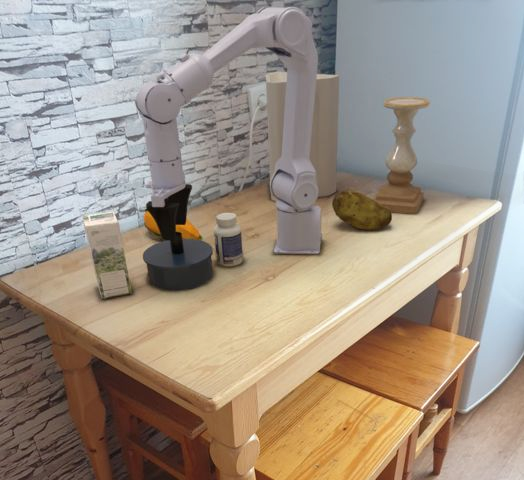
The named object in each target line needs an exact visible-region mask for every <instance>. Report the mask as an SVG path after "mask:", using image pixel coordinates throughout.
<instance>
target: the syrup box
mask: <svg viewBox="0 0 524 480" xmlns="http://www.w3.org/2000/svg"><path fill="white" fill-rule="evenodd" d="M82 222H83V227H84V232H85V234H86V235H85V237H86V240H87V244H88V248H89V252H90V258H91V262H92V266H93V270H94V275H95V280H96V284H97V288H98V291H99V294H100V297H101V300H105V299H111V298H115V297H120V296H121V297H122V296H126V295H131V294H132V293H133V291H132V286H131V281H130V276H129V275H130V274H129V270H128V265H127V260H126V254H125V250H124V249H125V247H124V243H123V238H122V233H121V227H120V222H119V220H118V218H117V216H116V214H115V211H113V210H112V211H108V212H101V213H95V214H89V215H83V216H82Z"/></svg>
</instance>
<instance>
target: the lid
mask: <svg viewBox="0 0 524 480" xmlns="http://www.w3.org/2000/svg"><path fill="white" fill-rule="evenodd" d="M213 253H214V249H213V246H212V245H211V244H210V243H209V242H207V241H205V240H203V239H202V240H197V239H182V233H181V232H176V236H175V240H167V241H165V240H163V241H160V242H158V243H155V244H152V245H151V246H149V247H147V248H146V249H145V250H144V252H143V253H142V261H143V262H144V263H145V264H146V266H147V265H149V266H152V267H155V268H160V269H181V268H187V267H192V266H195V265H198V264H200V263H203V262H204V261H206V260H208V259H209V258H210V257H211V258H212V256H213Z"/></svg>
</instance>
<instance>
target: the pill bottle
mask: <svg viewBox="0 0 524 480" xmlns="http://www.w3.org/2000/svg"><path fill="white" fill-rule="evenodd" d="M215 223H216V225H215V227H214V228H213V235H214V246H215V247H214V248H215V257H216V262H217V264H218V265H220V266H222V267H229V268H230V267H236V266H239V265H240V264H242V263H243V262H244V254H243V253H244V252H243V241H242V228H241V226H240V225H239V224H238V219H237V214H235V213H233V212H221V213H218V214H217V215H216V216H215Z"/></svg>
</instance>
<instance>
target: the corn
mask: <svg viewBox="0 0 524 480" xmlns="http://www.w3.org/2000/svg"><path fill="white" fill-rule="evenodd" d="M144 212H145V213H144V214H143V221H144V227H145V228H146V229H147V231H149V232H150V233H151V234H153V235H154V236H155V237H157V238H159V239H161V240H163V238H162V236H161V233H160V231H159V228H158V226H157V224H156V222H155V220H154V218H153V217H152V215H151V214H150V213H149V212H148V211H147V208H146V207H145V209H144ZM176 232H181V233H182V239H197V240H202V241H203V236H202V235H201V234H200V231H199V230H198V228H197V227H196V226H195V225H194V224H193V223H192V222H191V221H189V219H187V218H186V224H185V225H176ZM164 241H167V240H164Z"/></svg>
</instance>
